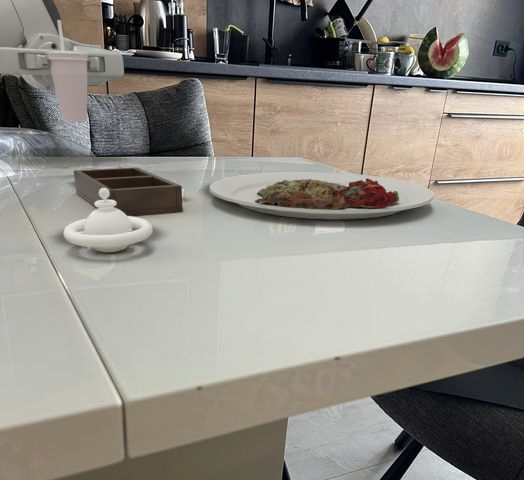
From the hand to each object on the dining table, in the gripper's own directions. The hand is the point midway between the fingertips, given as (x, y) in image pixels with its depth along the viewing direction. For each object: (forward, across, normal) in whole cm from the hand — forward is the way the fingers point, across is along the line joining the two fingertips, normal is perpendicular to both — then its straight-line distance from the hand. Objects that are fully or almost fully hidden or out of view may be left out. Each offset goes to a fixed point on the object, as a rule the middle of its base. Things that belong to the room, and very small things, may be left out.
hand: (69, 62), depth 84 cm
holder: (+25, 0, +17) cm, 30 cm away
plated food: (+35, +24, +17) cm, 45 cm away
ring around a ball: (+47, -8, +17) cm, 50 cm away
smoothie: (-1, 0, +9) cm, 9 cm away
